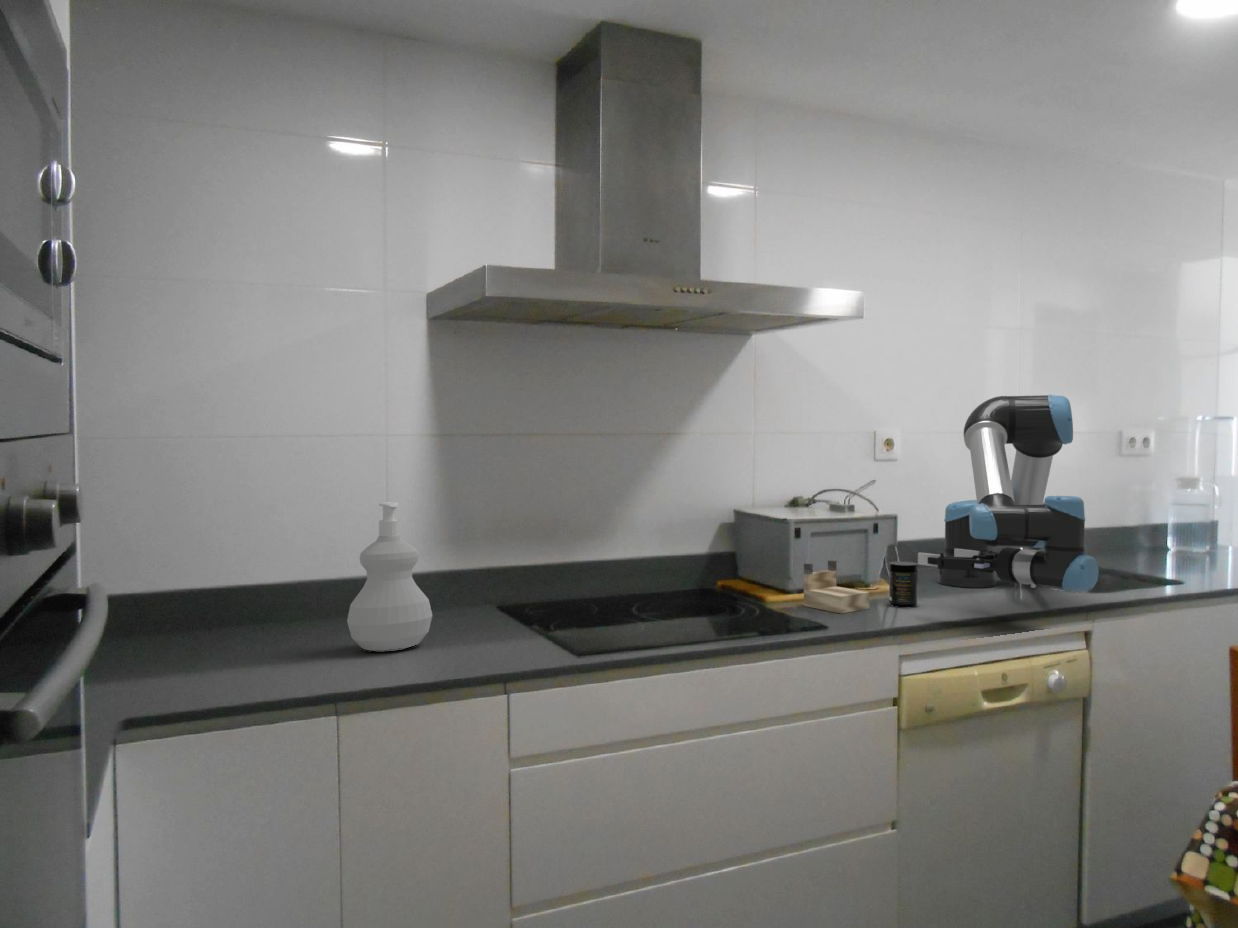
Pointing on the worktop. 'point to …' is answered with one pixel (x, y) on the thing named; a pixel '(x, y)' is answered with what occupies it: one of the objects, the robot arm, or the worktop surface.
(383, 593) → the soap bottle
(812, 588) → the holder
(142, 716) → the worktop surface
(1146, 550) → the worktop surface
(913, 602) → the supplement container
